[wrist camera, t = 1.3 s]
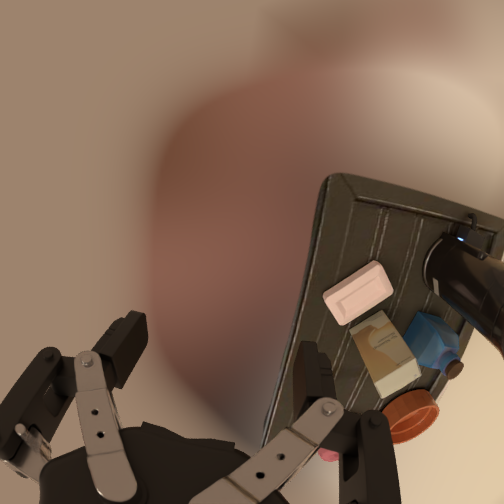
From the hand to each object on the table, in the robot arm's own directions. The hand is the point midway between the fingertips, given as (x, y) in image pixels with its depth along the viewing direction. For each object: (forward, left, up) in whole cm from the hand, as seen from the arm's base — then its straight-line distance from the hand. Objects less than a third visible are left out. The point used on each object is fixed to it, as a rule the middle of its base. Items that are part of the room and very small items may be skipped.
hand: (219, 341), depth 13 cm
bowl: (+28, +44, -23) cm, 57 cm away
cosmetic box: (+9, +23, -23) cm, 34 cm away
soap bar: (+3, +18, -23) cm, 29 cm away
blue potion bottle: (+8, +34, -23) cm, 42 cm away
